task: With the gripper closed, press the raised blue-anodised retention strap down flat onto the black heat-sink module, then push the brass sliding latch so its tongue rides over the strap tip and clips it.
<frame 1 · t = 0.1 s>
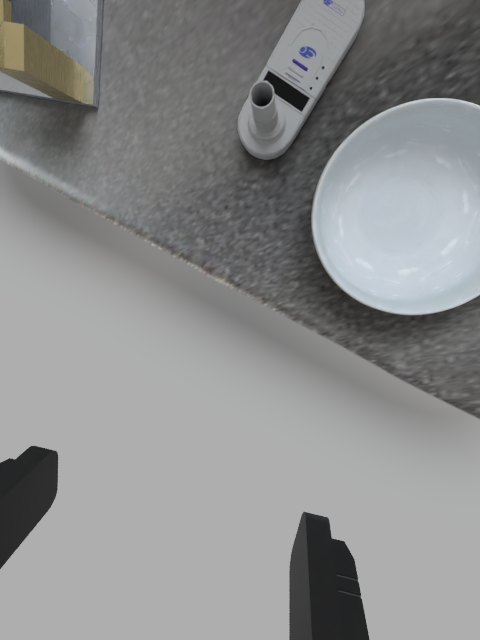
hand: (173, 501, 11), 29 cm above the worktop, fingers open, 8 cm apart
cereal bowl: (395, 215, 35), on the worktop
latch: (28, 54, 31), point 5 cm above the worktop, slide at 0.0 cm
clip base: (23, 0, 34), on the worktop
electronic device: (297, 81, 33), on the worktop
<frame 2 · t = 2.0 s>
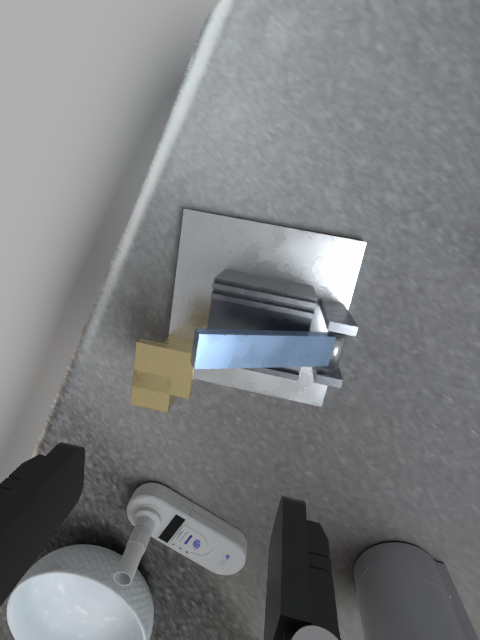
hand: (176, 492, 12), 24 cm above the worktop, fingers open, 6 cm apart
strap: (274, 348, 25), point 9 cm above the worktop, hinge at 30.0°
cereal bowl: (105, 571, 47), on the worktop
latch: (177, 359, 31), point 5 cm above the worktop, slide at 0.0 cm
clip base: (257, 310, 34), on the worktop
electronic device: (191, 517, 43), on the worktop
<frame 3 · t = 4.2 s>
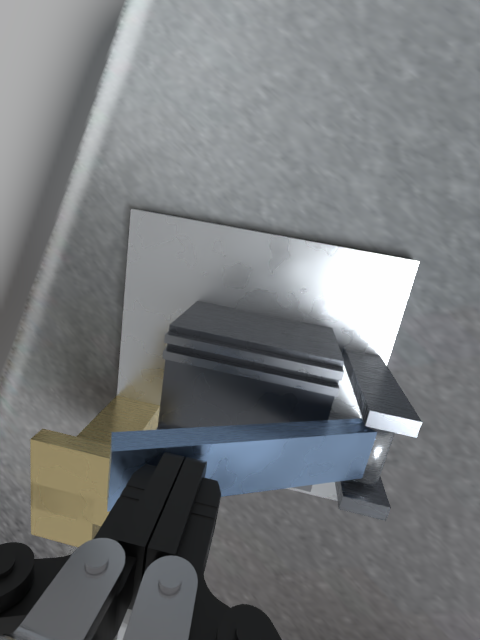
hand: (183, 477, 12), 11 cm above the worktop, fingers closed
strap: (266, 456, 14), point 9 cm above the worktop, hinge at 27.3°, touching gripper
latch: (120, 445, 20), point 5 cm above the worktop, slide at 0.0 cm
clip base: (247, 360, 23), on the worktop
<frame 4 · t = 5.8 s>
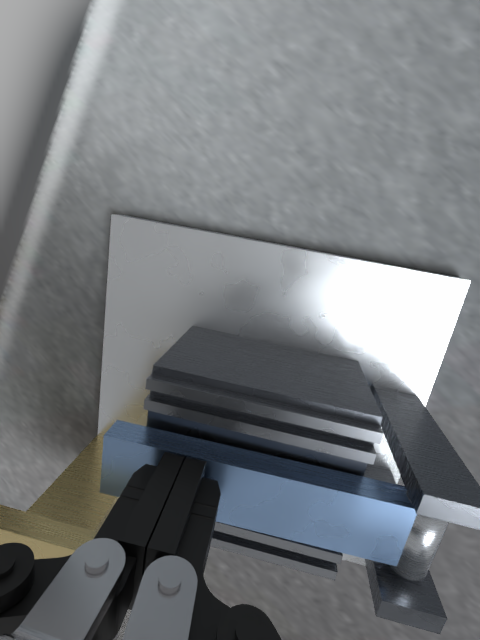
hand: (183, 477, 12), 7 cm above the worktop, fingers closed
strap: (267, 493, 13), point 7 cm above the worktop, hinge at 1.2°, touching gripper
latch: (95, 506, 16), point 5 cm above the worktop, slide at 0.0 cm
clip base: (252, 395, 19), on the worktop
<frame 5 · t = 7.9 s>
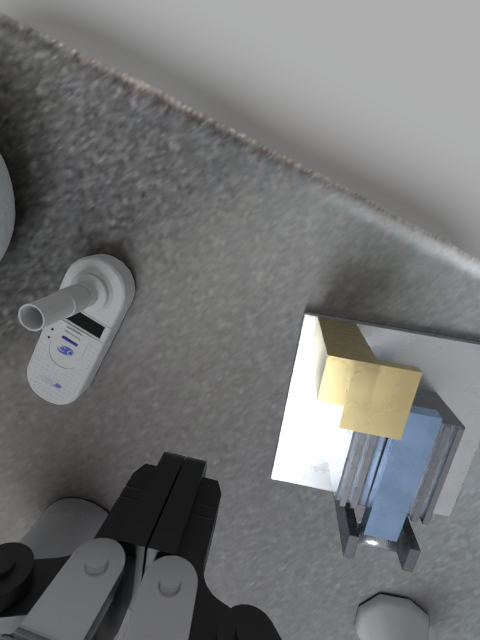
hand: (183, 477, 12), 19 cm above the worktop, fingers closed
strap: (395, 482, 25), point 7 cm above the worktop, hinge at 1.2°
latch: (353, 370, 25), point 5 cm above the worktop, slide at 0.0 cm
clip base: (378, 414, 31), on the worktop
electronic device: (89, 327, 33), on the worktop
flask: (389, 616, 38), on the worktop
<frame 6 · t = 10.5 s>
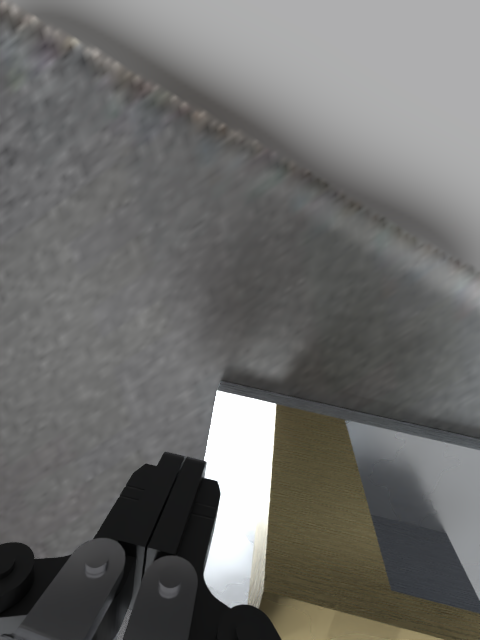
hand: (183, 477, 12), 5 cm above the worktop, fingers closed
latch: (334, 538, 12), point 5 cm above the worktop, slide at 1.7 cm, touching gripper
clip base: (346, 551, 19), on the worktop
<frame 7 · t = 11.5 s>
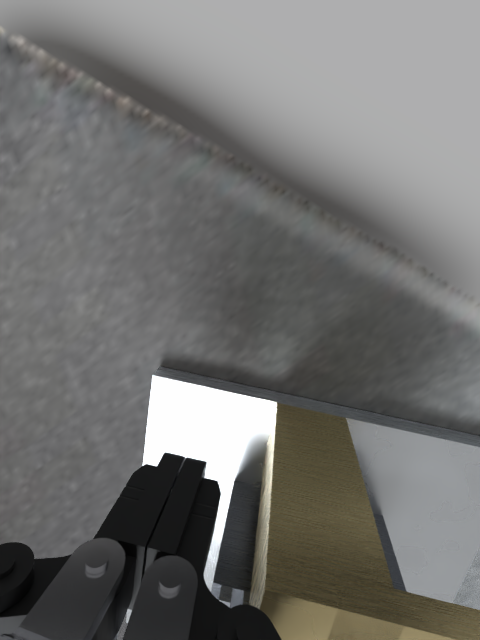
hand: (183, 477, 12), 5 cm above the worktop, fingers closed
latch: (336, 537, 12), point 5 cm above the worktop, slide at 4.7 cm, touching gripper
clip base: (291, 536, 19), on the worktop
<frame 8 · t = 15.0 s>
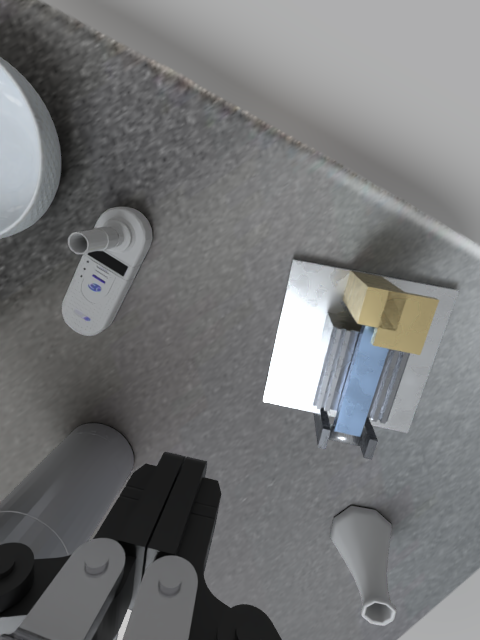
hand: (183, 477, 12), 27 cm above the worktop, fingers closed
strap: (359, 387, 32), point 7 cm above the worktop, hinge at 1.2°
cereal bowl: (9, 156, 38), on the worktop
latch: (381, 308, 32), point 5 cm above the worktop, slide at 4.7 cm
clip base: (351, 347, 38), on the worktop
electronic device: (112, 271, 40), on the worktop
flask: (359, 527, 45), on the worktop
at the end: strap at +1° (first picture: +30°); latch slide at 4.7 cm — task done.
